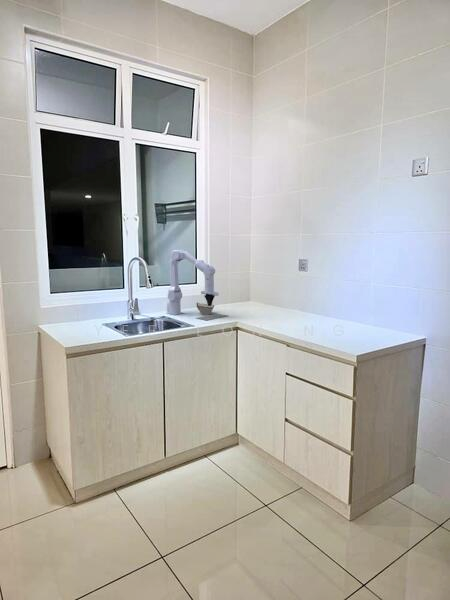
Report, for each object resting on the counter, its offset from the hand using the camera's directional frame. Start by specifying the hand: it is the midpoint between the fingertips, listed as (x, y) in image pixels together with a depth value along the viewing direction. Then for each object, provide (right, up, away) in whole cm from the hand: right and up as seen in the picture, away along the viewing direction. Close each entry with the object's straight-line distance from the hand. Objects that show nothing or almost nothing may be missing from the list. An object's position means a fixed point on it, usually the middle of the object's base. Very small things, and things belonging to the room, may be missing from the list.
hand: (209, 305), depth 257 cm
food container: (-3, -5, +7) cm, 9 cm away
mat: (+2, -8, -1) cm, 8 cm away
